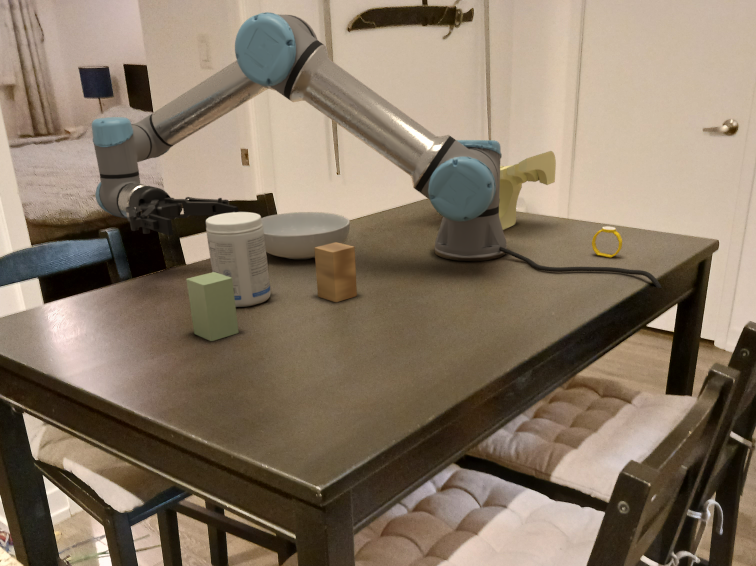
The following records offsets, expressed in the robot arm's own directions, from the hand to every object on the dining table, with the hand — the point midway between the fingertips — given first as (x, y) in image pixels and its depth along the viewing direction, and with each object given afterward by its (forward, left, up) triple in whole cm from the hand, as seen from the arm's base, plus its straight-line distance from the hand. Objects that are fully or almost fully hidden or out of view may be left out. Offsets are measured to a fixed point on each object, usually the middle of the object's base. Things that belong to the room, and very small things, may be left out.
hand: (204, 220), depth 136 cm
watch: (-70, -37, -13) cm, 80 cm away
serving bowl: (-7, -27, -13) cm, 30 cm away
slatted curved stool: (-40, -60, -13) cm, 73 cm away
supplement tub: (-8, +5, -13) cm, 16 cm away
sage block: (-12, +21, -13) cm, 27 cm away
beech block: (-24, 0, -13) cm, 27 cm away
